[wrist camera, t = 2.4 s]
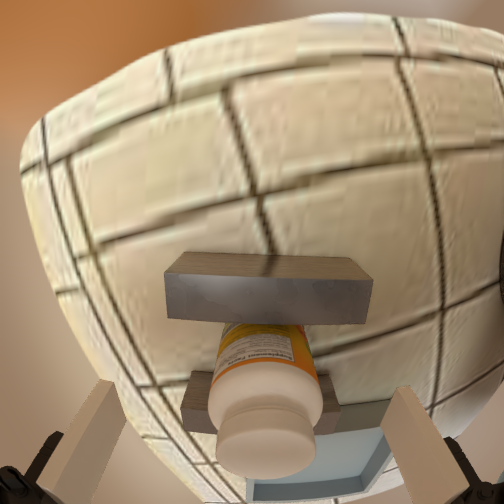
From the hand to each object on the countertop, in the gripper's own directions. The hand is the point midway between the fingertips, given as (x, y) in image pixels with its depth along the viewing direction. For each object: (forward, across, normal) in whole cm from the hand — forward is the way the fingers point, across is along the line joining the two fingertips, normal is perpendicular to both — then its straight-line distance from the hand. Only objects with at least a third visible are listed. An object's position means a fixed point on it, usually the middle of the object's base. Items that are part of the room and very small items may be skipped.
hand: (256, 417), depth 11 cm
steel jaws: (+7, -1, 0) cm, 7 cm away
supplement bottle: (+8, -1, 0) cm, 8 cm away
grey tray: (+7, -7, +14) cm, 17 cm away
